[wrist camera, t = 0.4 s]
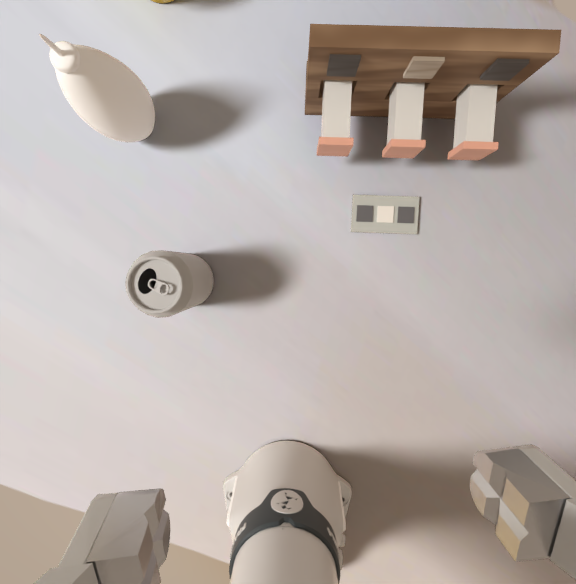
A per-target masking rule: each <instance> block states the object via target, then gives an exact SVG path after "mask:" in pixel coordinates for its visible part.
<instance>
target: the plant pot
mask: <svg viewBox="0 0 576 584" xmlns="http://www.w3.org/2000/svg"><path fill="white" fill-rule="evenodd" d="M151 1H154V2H156V3H168V2H171V1H174V0H151Z"/></svg>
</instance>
